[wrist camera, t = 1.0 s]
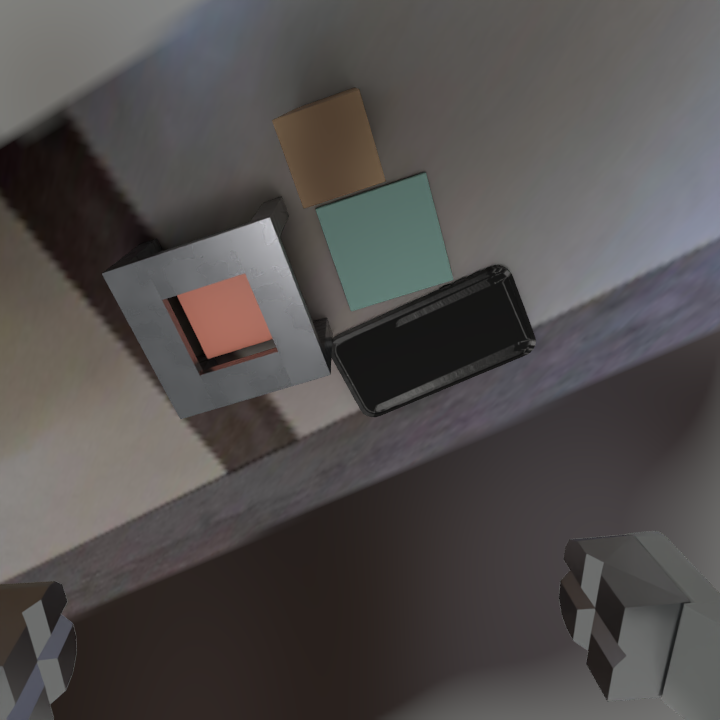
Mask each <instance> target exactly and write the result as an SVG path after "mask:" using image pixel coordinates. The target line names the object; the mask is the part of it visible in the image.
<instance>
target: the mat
mask: <svg viewBox="0 0 720 720" xmlns="http://www.w3.org/2000/svg"><path fill="white" fill-rule="evenodd" d="M316 212H317V215H318V218H319V221H320V224H321V227H322V229H323V232H324V235H325V238H326V241H327V244H328V247H329V250H330V252H331V255H332V258H333V261H334V264H335V267H336V270H337V272H338V275H339V278H340V281H341V284H342V287H343V290H344V292H345V295H346V298H347V301H348V304H349V307H350V310H351V311H354V310H357V309H361V308H364V307H367V306H370V305H374V304H377V303H380V302H383V301H387V300H390V299H393V298H396V297H400V296H403V295H406V294H409V293H413V292H416V291H419V290H422V289H426V288H429V287H432V286H435V285H439V284H442V283H445V282H448V281H452V280H453V276H452V272H451V269H450V265H449V261H448V257H447V253H446V249H445V245H444V241H443V237H442V234H441V230H440V226H439V222H438V218H437V214H436V210H435V206H434V202H433V199H432V195H431V191H430V187H429V183H428V179H427V175H426V173H425V172H424V173H421V174H418V175H415V176H412V177H409V178H406V179H403V180H400V181H397V182H394V183H391V184H388V185H385V186H382V187H379V188H376V189H372V190H369V191H366V192H363V193H360V194H357V195H354V196H351V197H348V198H345V199H342V200H339V201H336V202H333V203H330V204H327V205H324V206H321V207H318V208H316Z"/></svg>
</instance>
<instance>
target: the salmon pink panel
mask: <svg viewBox="0 0 720 720" xmlns="http://www.w3.org/2000/svg"><path fill="white" fill-rule="evenodd" d="M177 297H178V299H179V301H180V303H181V305H182V307H183V309H184V311H185V313H186V315H187V317H188V319H189V321H190V324H191V326H192V328H193V330H194V332H195V334H196V336H197V338H198V340H199V342H200V344H201V346H202V348H203V350H204V352H205V354H206V356H207V358H208V359H210V358H213V357H216V356H219V355H223V354H226V353H229V352H232V351H236V350H239V349H242V348H245V347H249V346H252V345H255V344H258V343H262V342H265V341H268V340H272V339H273V338H272V336H271V334H270V331H269V329H268V326H267V324H266V322H265V319H264V317H263V315H262V312H261V310H260V308H259V305H258V303H257V300H256V298H255V296H254V293H253V291H252V289H251V286H250V284H249V282H248V279H247V277H246V275H245V274H241V275H238V276H235V277H232V278H229V279H226V280H223V281H220V282H217V283H214V284H211V285H207V286H204V287H201V288H198V289H195V290H192V291H189V292H186V293H183V294H180V295H177Z"/></svg>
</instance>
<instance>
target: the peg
mask: <svg viewBox="0 0 720 720" xmlns="http://www.w3.org/2000/svg"><path fill="white" fill-rule="evenodd" d="M272 122H273V124H274V127H275V130H276V133H277V136H278V138H279V141H280V144H281V147H282V150H283V152H284V155H285V158H286V161H287V163H288V166H289V169H290V172H291V175H292V177H293V180H294V183H295V186H296V189H297V191H298V194H299V197H300V200H301V203H302V205H303V208H307V207H310V206H313V205H316V204H319V203H322V202H325V201H328V200H331V199H334V198H337V197H340V196H343V195H346V194H349V193H352V192H355V191H358V190H361V189H364V188H367V187H370V186H373V185H376V184H379V183H382V182H385V181H386V180H385V177H384V174H383V170H382V167H381V163H380V160H379V156H378V153H377V149H376V146H375V142H374V139H373V135H372V132H371V129H370V125H369V122H368V118H367V115H366V111H365V108H364V104H363V101H362V97H361V94H360V90H359V89H357V88H352V89H349V90H346V91H343V92H341V93H338V94H335V95H332V96H329V97H327V98H324V99H321V100H318V101H315V102H312V103H310V104H307V105H304V106H301V107H298V108H296V109H294V110H292V111H290V112H288V113H286V114H284V115H282V116H280V117H278V118H276V119H274V120H272Z"/></svg>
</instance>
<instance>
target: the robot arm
mask: <svg viewBox="0 0 720 720" xmlns="http://www.w3.org/2000/svg"><path fill="white" fill-rule="evenodd" d="M563 559H564V561H565V563H566V564H567V566H568V567H569V569H570V571H569V572H568V573H567V574H566V575H565V576H564V577H563V579H562V580H561V581H560V590H559V601H560V608H561V615H562V617H563V620H564V623H565V626H566V628H567V630H568V632H569V634H570V636H571V637H572V640H573V641H575V642H576V643H577V644H579V645H580V646H582V647H583V648H585V649H586V650H588V655H587V662H586V665H587V667H588V668H589V670H590V672H591V674H592V675H593V677H594V679H595V680H596V683H597V684H598V686H599V688H600V690H601V691H602V693H603V694H604V697H605V698H606V700H607V701H608V702H609V701H622V700H635V699H647V698H660V697H662V699H661V701H663V702H664V703H665V704H666V705H668V706H669V707H670V708H671V709H673V710H674V711H675V712H676V713H677V714H679V715H680V716H681V717H682V718H684V719H685V720H720V593H719V592H718V591H717V590H716V589H715V588H714V587H713V585H712V584H711V583H710V582H709V581H708V580H707V579H706V578H705V577H704V576H703V575H702V574H701V573H700V572H699V571H698V570H697V569H696V568H695V567H694V566H693V564H691V562H690V561H689V560H688V559H687V558H686V557H685V556H684V555H683V554H682V553H681V552H680V551H679V550H678V549H677V548H676V547H675V546H674V545H673V544H672V542H670V540H669V539H668V538H667V537H666V536H665V535H664V534H662V533H660V532H658V531H648V532H639V533H629V534H627V535H615V536H605V537H604V536H603V537H592V538H581V539H570V540H569V541H568V543H567V545H566V547H565V552H564V558H563ZM67 602H68V601H67V598H66V595H65V591H64V588H63V585H62V584H60V583H58V582H56V581H52V582H35V583H18V584H1V585H0V720H53V719H54V717H53V714H52V710H51V706H50V704H51V703H52V702H53V701H54V700H55V699H56V698H58V697H59V696H60V695H61V694H62V693H63V692H65V691H66V689H67V686H68V684H69V681H70V678H71V676H72V674H73V670H74V664H75V658H76V653H77V647H76V634H75V629H74V625H73V623H71V622H70V621H69V620H68V619H66V618H65V617H64V616H63V615H61V614H62V612H63V610H64V608H65V606H66V604H67Z"/></svg>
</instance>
